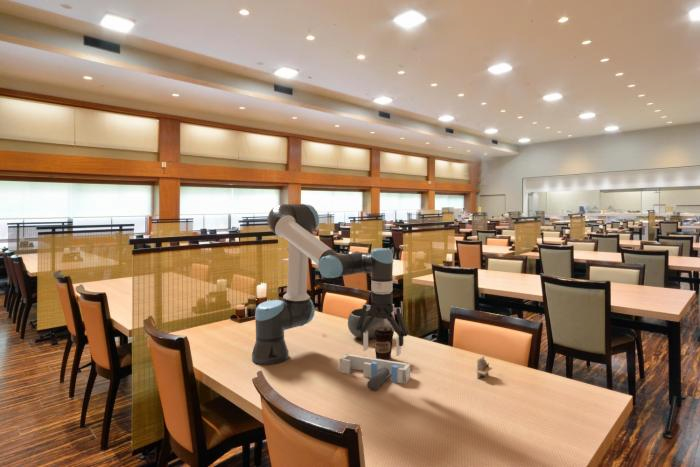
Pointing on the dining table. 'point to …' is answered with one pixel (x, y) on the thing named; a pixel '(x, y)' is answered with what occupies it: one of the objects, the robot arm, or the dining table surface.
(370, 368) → the white u-shaped bracket
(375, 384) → the dark gray cylinder
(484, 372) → the architectural model
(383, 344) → the coffee cup
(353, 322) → the bowl
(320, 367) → the dining table surface
